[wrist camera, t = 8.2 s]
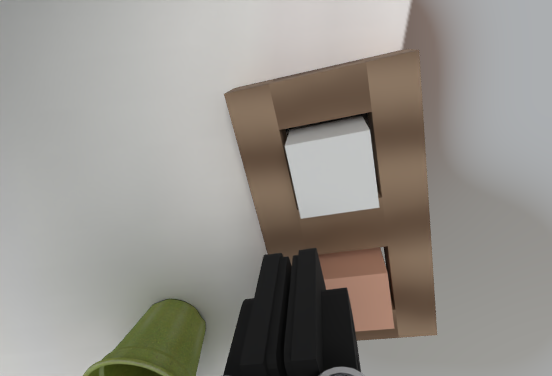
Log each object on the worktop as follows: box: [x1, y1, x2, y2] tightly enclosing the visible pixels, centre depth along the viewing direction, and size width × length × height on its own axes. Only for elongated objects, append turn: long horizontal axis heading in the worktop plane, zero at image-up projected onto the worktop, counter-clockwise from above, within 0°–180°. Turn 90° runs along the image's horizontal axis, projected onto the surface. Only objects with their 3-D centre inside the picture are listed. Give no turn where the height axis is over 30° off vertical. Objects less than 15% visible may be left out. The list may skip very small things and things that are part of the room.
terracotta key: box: [318, 247, 394, 332], centre depth 26 cm, size 5×5×4 cm
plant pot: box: [83, 299, 206, 376], centre depth 31 cm, size 9×9×9 cm
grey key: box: [285, 116, 379, 219], centre depth 23 cm, size 5×5×4 cm
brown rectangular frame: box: [224, 49, 437, 340], centre depth 26 cm, size 22×12×3 cm, turn 13°
